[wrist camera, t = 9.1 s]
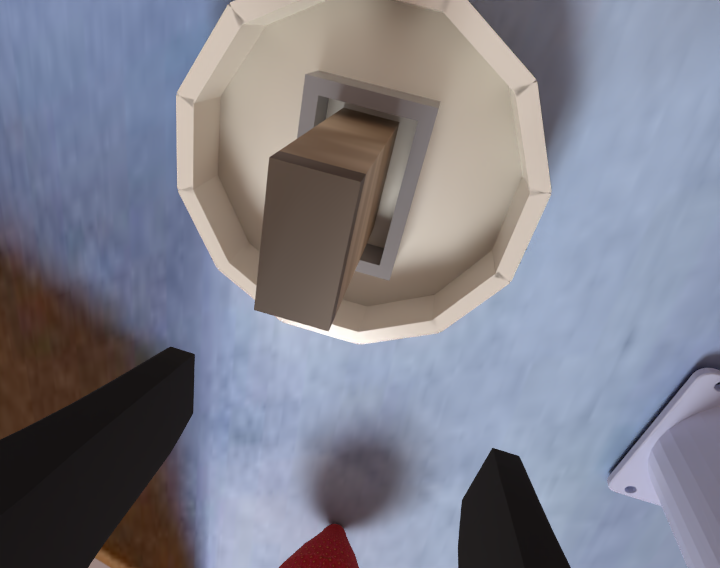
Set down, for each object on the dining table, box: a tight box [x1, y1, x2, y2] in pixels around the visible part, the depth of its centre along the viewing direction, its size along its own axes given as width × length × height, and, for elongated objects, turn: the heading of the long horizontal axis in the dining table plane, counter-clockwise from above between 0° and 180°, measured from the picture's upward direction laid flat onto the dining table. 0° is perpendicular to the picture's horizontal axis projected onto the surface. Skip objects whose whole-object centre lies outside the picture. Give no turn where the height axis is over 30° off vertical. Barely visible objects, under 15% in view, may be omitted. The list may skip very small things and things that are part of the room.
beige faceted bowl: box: [176, 0, 552, 344], centre depth 16 cm, size 12×12×2 cm
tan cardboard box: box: [254, 108, 400, 332], centre depth 13 cm, size 2×4×7 cm, turn 168°
